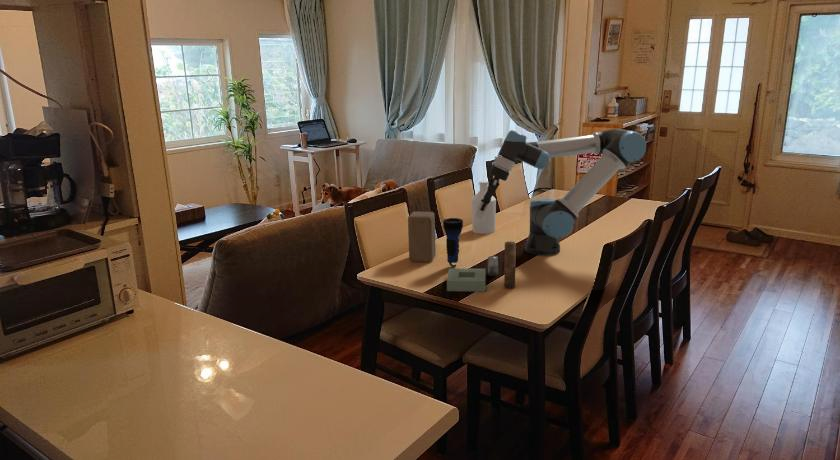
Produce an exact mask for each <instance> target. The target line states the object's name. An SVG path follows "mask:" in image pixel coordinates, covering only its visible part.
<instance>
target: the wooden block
mask: <svg viewBox="0 0 840 460" xmlns="http://www.w3.org/2000/svg"><path fill="white" fill-rule="evenodd" d="M435 218H436V214H435V212H434V211H412V212H411V213H410V214H409V216H408V217H407V225H408V226H407V228H408V229H407V230H408V231H407V233H408V234H407V235H408V236H407V237H408V255H409V256H408V258H409V259H408V260H409V261H410V262H412V263H413V262H415V263H418V262H419V263H432V262H433V260H434V258H435V257H436V256H437V254H436V250H437V249H436V219H435Z"/></svg>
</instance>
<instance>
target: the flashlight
mask: <svg viewBox="0 0 840 460" xmlns="http://www.w3.org/2000/svg"><path fill="white" fill-rule="evenodd" d="M463 221H464V220H463V219H462V218H459V217H448V218H444V219H443V221H442V225H443V226H442V227H443V230H444V233H445V236H446V239H445V241H446V242H445V245H446V254H447V263H449V265H450V266H451V268H456V267H457V263H458V261H459V253H460V239H459V236H460V234H461V233H462V230H463V228H464V225H463V224H464V222H463Z"/></svg>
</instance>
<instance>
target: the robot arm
mask: <svg viewBox="0 0 840 460" xmlns="http://www.w3.org/2000/svg"><path fill="white" fill-rule="evenodd" d="M646 150H647V142H646V139H645V137H644V136H643V135H642V134H641V133H639V132H637V131H635V130H628V129H624V128H612V129H607V130H602V131H601V130H600V131H594V132H592V133H591V134H588V135H581V136H572V137H565V138H556V139H547V140H540V141H532V142H531V141H529V142H527V135H524V134H523V133H521V132H518V131H516V130H513V129H511V130H509V132H508V133H507V135H506V137H505V139H504V140H503V143H502V145H501V147H500V149H499V152H498V153H497V156H494V159H495V160H494V162H493V165H492V166H491V167H490V169H489V175H491V176H493V177H492V178H491V179H489V181H488V188H487V189H488V190H487V192H486V194H485V195H484V197H483V199H481V201H482V202H481V204H480V206H479V208H478V210H477V212H476V215H475V217H477V218H479V219H482V217H483V215H484V213H485V210H486V208H487V206H488V204H489V203H490V201H491V198H492V196H494V193H496V191H497V190H498V188H499V186H500V180H502V181H507V179H508V178H509V176H510V172H512V169H513V168H514V165H515V163H516V161H517V160H518V161H521V162H523V163H524V164H527V165H529V166H531V167H533V168H536V169H537V170H538V169H539V170H543V169H544V168H545V167H546V166H547V165H548V163H549V161H550V159H552V158H559V157H569V156H577V155H585V154H587V155H588V154H593V155H595V156H597V155H602V156H601V157H600V158H599V159H598V160H597V161H596V162H595V163H594V164H593V166H591V168H590V169H588V171H587V172H586V173H585V174H584V175H582V177H581V178H580V179H579V180H578V181H577V183H575V185H573V186H572V188H571V189H570V190H569V191H568V192H567V193H566V194H565V195H564V197H562V198H555V199H554V198H541V199H539V198H538V199H537V198H536V199H533V200H531V201H530V205H529V234H528V237H527V239H526V241H525V242H526V243H525V245H524V250H525V252H526V253H528V254H531V255H535V256H536V255H537V256H552V255H557V254H559V253H560V252H561V244H560V242H559V239H562V238H566V237H567V236H569V234H571V233H572V232H573V229H574V226H575V225H574V224H575V222H576V221H577V220H578V219H579V212H580V211H581V210H582V209H583V208H584V207H586V205H587V204H588V202H589V201H591V200H592V198H594V197H595V195H596V194H597V193H598V192H600V190H601V189H603V187H604V185H606V184H607V183H608V182H609V180H611V178H612V177H614V175H615V174H616V173H617V172H618V171H619V170H625V169H626V168H627V167H628V166H629V165H630V164H631V163H633V162H637V161H640V160H641V159H642V158H643V157H644V155H645V154H646Z"/></svg>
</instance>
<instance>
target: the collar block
mask: <svg viewBox="0 0 840 460" xmlns="http://www.w3.org/2000/svg"><path fill="white" fill-rule="evenodd" d="M446 277H447V278H446V292H484V293H485V292H486V268H456V267H451V268H450V267H449V268H448V272H447V276H446Z"/></svg>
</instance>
